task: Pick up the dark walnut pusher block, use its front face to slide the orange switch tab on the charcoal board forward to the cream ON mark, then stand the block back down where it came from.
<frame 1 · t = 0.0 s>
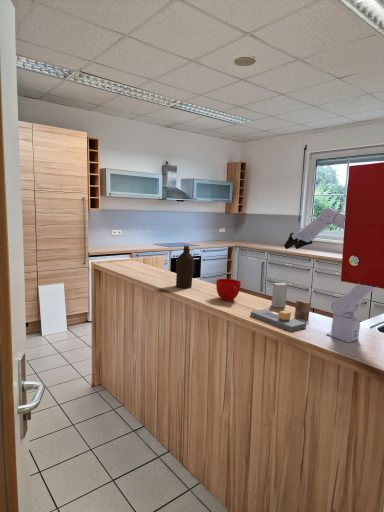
hand: (290, 247, 148), 32 cm above the table, tool tilted 50°, fingers open, 7 cm apart
ceramic cup: (228, 300, 175), on the table
walnut pusher: (301, 318, 151), on the table
olive oil: (183, 287, 200), on the table
skincare box: (277, 307, 169), on the table
switch board: (277, 321, 144), on the table
switch tab: (284, 315, 140), point 4 cm above the table, slide at 0.0 cm
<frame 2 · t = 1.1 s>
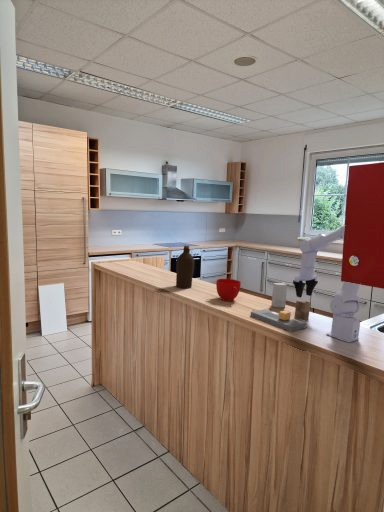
hand: (303, 296, 150), 10 cm above the table, tool pointing down, fingers open, 7 cm apart
nothing on the table moved.
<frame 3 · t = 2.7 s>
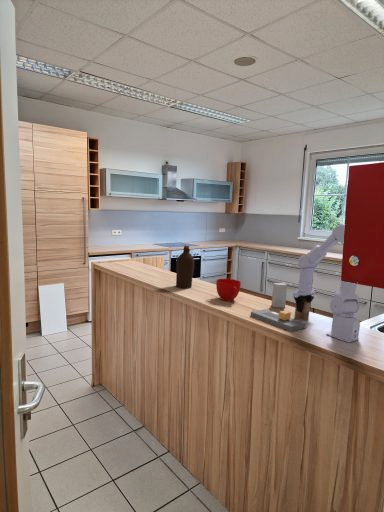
hand: (302, 311, 151), 3 cm above the table, tool pointing down, fingers closed on walnut pusher, 3 cm apart
walnut pusher: (301, 318, 151), on the table, touching gripper
everything else where it was.
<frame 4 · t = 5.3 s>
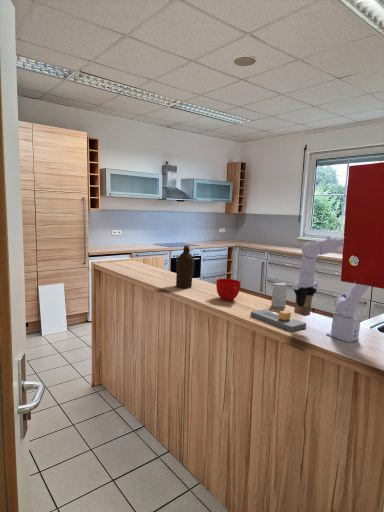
hand: (303, 305, 133), 10 cm above the table, tool pointing down, fingers closed on walnut pusher, 3 cm apart
walnut pusher: (301, 313, 134), point 7 cm above the table, touching gripper
everything else where it was.
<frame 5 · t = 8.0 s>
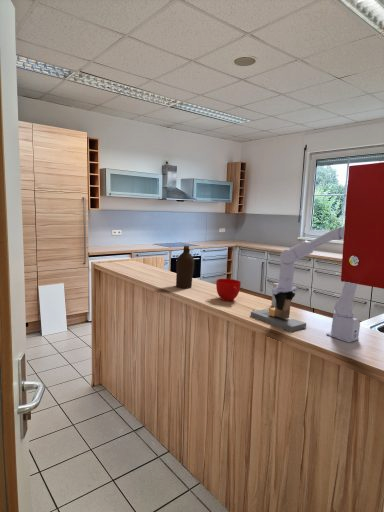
hand: (282, 308, 141), 6 cm above the table, tool pointing down, fingers closed on walnut pusher, 3 cm apart
walnut pusher: (281, 316, 142), point 3 cm above the table, touching gripper, switch tab
switch tab: (274, 311, 145), point 4 cm above the table, slide at 5.4 cm, touching walnut pusher
everything else where it was.
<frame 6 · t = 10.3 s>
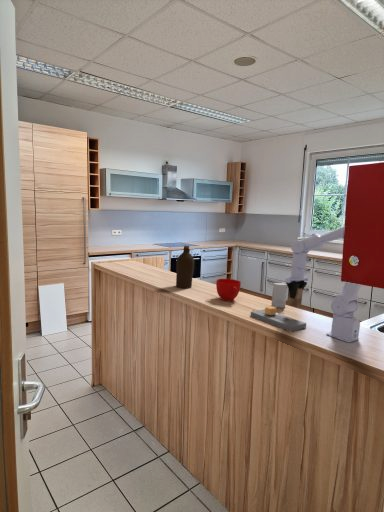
hand: (295, 297, 147), 10 cm above the table, tool pointing down, fingers closed on walnut pusher, 3 cm apart
walnut pusher: (293, 305, 147), point 7 cm above the table, touching gripper
switch tab: (270, 310, 146), point 4 cm above the table, slide at 7.5 cm
everything else where it was.
when the fingers open (4 cm above the table, at t = 12.2 s): walnut pusher stays where it is, on the table.
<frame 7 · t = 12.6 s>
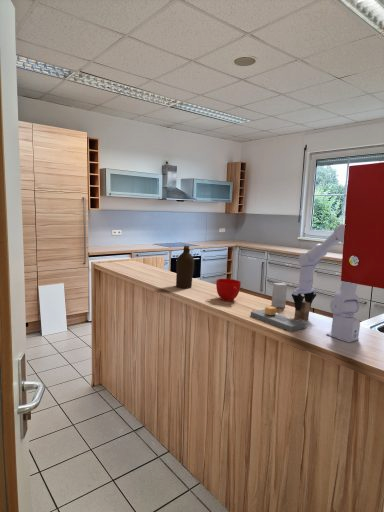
hand: (302, 309, 151), 4 cm above the table, tool pointing down, fingers open, 7 cm apart
walnut pusher: (301, 318, 151), on the table
everything else where it was.
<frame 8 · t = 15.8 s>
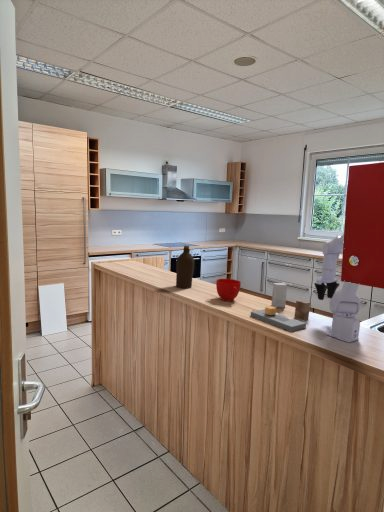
hand: (325, 298, 148), 10 cm above the table, tool pointing down, fingers open, 7 cm apart
nothing on the table moved.
at the end: switch tab slide at 7.5 cm; walnut pusher inside the target area (0.1 cm from its centre), on the table; walnut pusher tilted 0° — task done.
